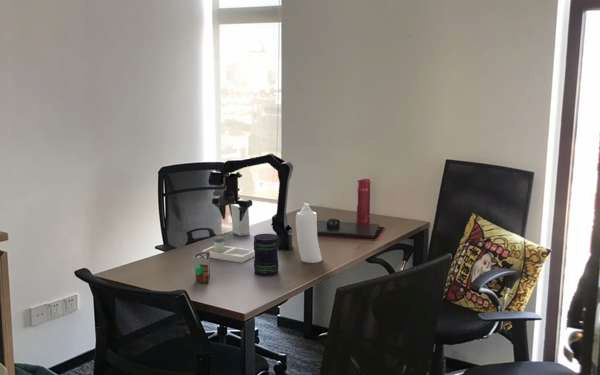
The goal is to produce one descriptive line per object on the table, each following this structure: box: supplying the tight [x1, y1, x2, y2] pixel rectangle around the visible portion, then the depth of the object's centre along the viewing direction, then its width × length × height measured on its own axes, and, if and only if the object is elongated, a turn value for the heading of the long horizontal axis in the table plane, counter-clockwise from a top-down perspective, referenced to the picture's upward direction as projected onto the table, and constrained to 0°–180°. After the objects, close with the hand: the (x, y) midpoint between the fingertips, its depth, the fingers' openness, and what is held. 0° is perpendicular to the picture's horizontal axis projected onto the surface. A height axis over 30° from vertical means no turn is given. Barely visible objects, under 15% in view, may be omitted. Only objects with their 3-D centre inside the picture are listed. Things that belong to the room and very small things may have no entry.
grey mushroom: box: [212, 236, 226, 253], centre depth 270 cm, size 5×5×7 cm
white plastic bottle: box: [295, 202, 323, 264], centre depth 260 cm, size 12×11×25 cm
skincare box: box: [230, 204, 251, 236], centre depth 306 cm, size 8×6×15 cm
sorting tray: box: [201, 245, 255, 264], centre depth 268 cm, size 20×11×2 cm, turn 64°
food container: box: [192, 250, 211, 285], centre depth 236 cm, size 12×6×10 cm, turn 5°
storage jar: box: [253, 233, 279, 278], centre depth 244 cm, size 10×10×15 cm
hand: (232, 220), depth 284 cm, fingers open, 9 cm apart
